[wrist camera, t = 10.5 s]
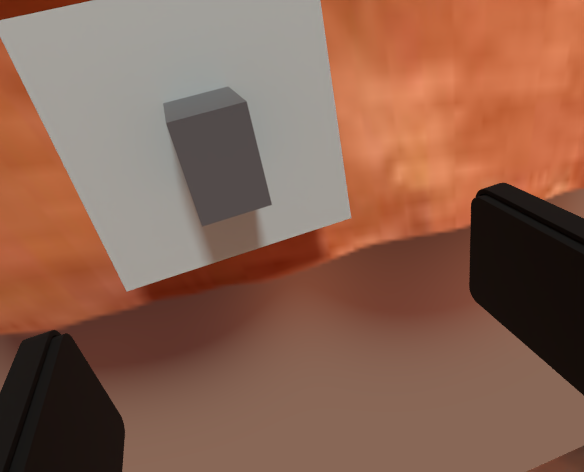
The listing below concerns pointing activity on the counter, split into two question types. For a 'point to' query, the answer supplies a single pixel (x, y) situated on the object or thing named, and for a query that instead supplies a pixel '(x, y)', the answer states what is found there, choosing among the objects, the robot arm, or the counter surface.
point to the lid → (187, 123)
